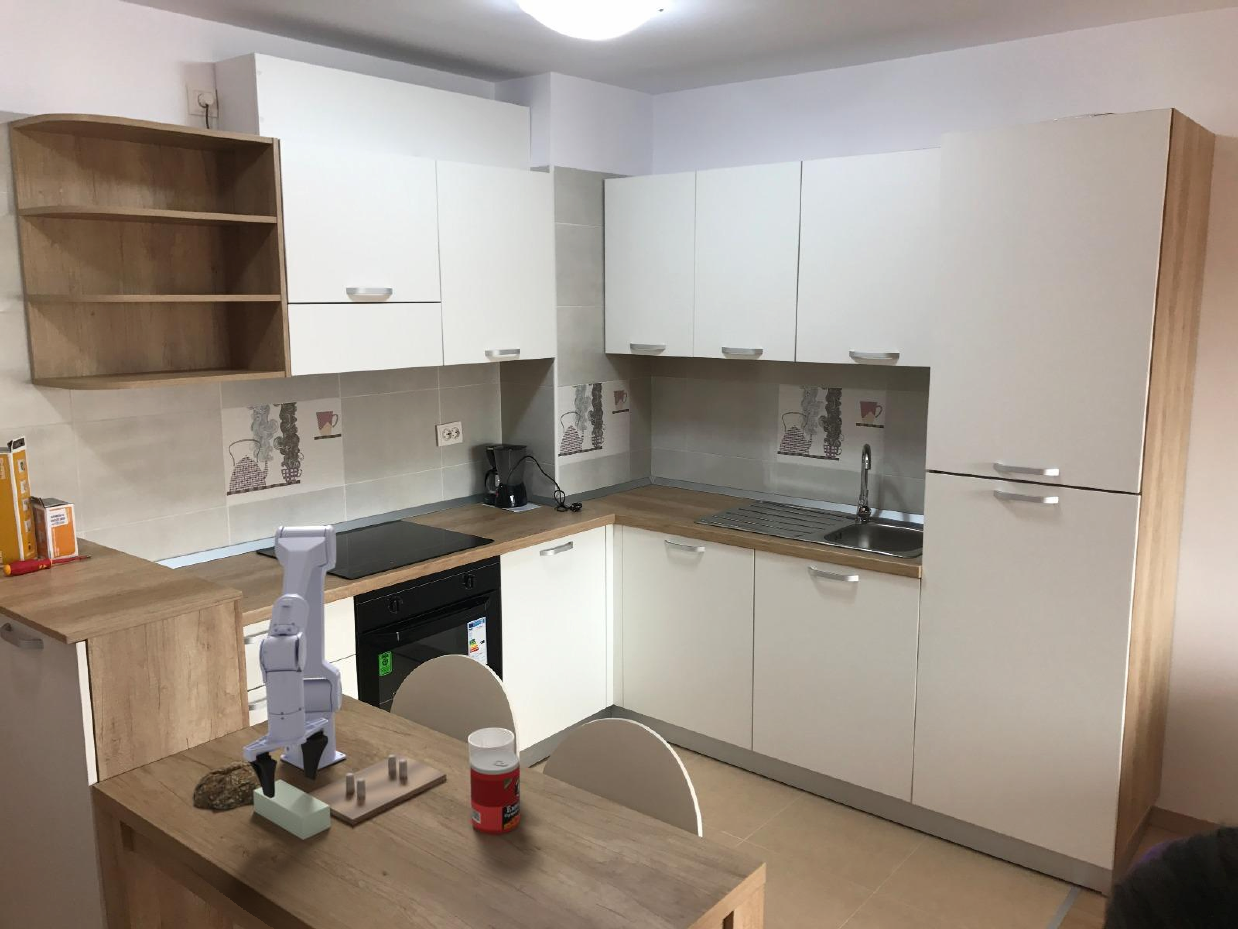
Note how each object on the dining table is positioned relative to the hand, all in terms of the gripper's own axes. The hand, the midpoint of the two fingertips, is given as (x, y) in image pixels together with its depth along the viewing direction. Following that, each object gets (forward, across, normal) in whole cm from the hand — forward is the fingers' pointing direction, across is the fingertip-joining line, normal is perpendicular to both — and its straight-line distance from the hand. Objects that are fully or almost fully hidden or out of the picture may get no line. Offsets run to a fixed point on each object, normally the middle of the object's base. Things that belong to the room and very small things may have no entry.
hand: (290, 786), depth 161 cm
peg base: (+6, +15, -3) cm, 16 cm away
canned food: (+6, +20, -27) cm, 34 cm away
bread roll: (+6, -1, +16) cm, 17 cm away
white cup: (+6, +27, -19) cm, 34 cm away
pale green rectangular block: (+6, 0, 0) cm, 6 cm away
